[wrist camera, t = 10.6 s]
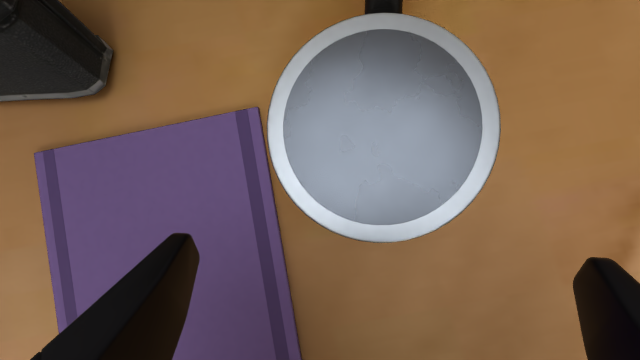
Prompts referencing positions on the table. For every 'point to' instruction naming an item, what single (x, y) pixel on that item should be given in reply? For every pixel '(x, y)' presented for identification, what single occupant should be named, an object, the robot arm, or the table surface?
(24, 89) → the camera
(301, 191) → the grey tall hollow container
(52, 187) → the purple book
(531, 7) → the table surface
